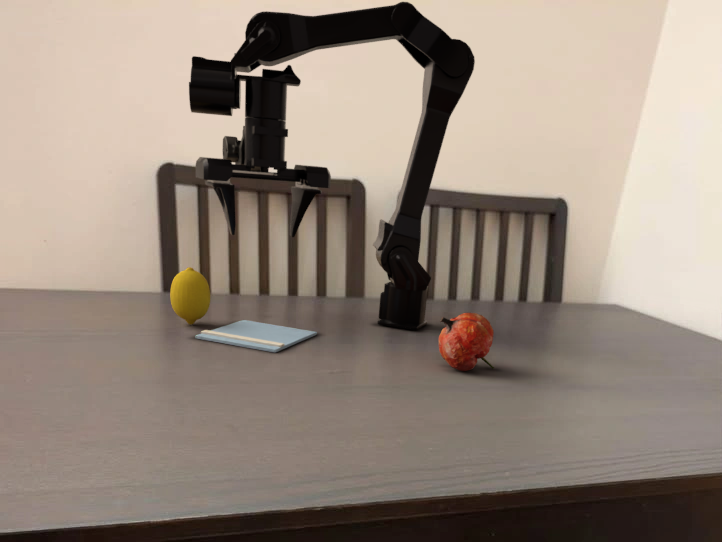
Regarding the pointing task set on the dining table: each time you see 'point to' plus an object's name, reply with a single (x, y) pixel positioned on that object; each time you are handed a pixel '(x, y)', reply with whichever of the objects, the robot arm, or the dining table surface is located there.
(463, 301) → the dining table surface
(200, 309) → the lemon
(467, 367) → the pomegranate
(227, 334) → the towel
